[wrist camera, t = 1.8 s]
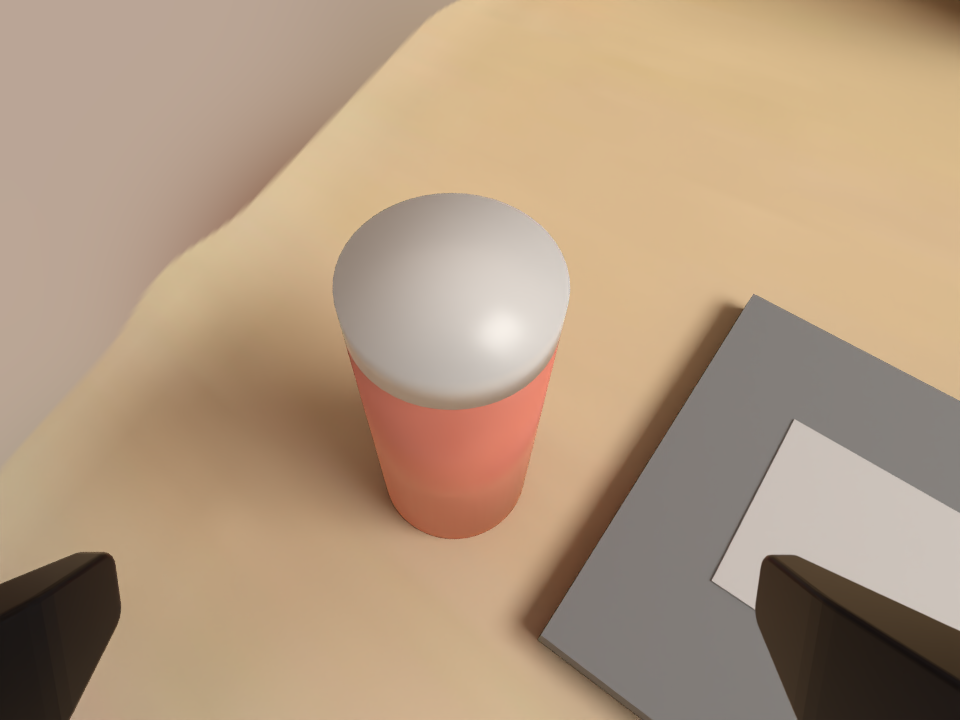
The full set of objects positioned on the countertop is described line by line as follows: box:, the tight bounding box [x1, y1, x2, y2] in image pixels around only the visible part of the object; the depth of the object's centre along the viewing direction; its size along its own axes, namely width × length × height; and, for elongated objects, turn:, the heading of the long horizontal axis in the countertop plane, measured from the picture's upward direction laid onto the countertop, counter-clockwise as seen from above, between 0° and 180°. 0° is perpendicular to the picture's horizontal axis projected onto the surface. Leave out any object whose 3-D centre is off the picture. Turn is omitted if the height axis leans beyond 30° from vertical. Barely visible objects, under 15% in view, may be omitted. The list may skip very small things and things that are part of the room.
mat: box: [538, 294, 960, 720], centre depth 21 cm, size 16×14×1 cm
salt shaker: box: [333, 193, 570, 539], centre depth 18 cm, size 5×5×11 cm
